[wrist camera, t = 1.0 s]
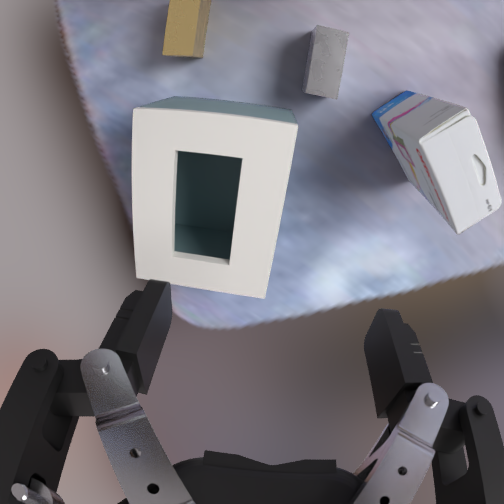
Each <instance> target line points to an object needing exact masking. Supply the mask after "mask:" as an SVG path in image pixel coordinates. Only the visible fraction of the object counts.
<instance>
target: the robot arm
mask: <svg viewBox="0 0 504 504" xmlns="http://www.w3.org/2000/svg"><path fill="white" fill-rule="evenodd" d="M171 319H172V303H171V287H170V282H167V281H160V280H154V279H150V280H149V281H148V283H147V285H146V287H145V289H144V291H138V290H135V291H134V292H132V293H131V294H130V295H129V296H128V297H126V298H125V300H124V302H123V304H122V305H121V308H120V310H119V311H118V313H117V315H116V318H114V320H113V322H112V324H111V326H110V328H109V330H108V332H107V334H106V336H105V338H104V340H103V342H102V343H101V345H100V347H99V349H96V350H93V351H91V352H89V353H88V354H86V355H85V356H84V358H83V359H79V360H58V358H57V356H56V355H55V354H54V353H53V352H52V351H50V350H47V349H39V350H36V351H33V352H32V353H30V354H29V355H28V356H27V357H26V359H25V360H24V362H23V364H22V366H21V368H20V370H19V371H18V373H17V375H16V377H15V379H14V381H13V383H12V385H11V387H10V389H9V391H8V394H7V396H6V398H5V400H4V402H3V404H2V407H1V408H0V504H65V503H64V501H63V499H62V498H61V497H60V495H58V494H57V493H56V492H57V488H58V484H59V481H60V477H61V473H62V470H63V466H64V463H65V460H66V456H67V453H68V450H69V446H70V443H71V440H72V437H73V434H74V431H75V428H76V425H77V422H78V419H79V416H95V418H96V426H97V430H98V432H99V435H100V438H101V440H102V443H103V445H104V448H105V450H106V453H107V455H108V458H109V460H110V463H111V465H112V467H113V470H114V472H115V474H116V476H117V479H118V481H119V483H120V485H121V487H122V489H123V491H124V494H125V496H126V498H125V499H124V500H122V501H121V502H119V503H118V504H410V503H411V501H412V499H413V497H414V495H415V494H416V492H417V490H418V488H419V486H420V484H421V482H422V480H423V478H424V476H425V474H426V472H427V470H428V468H429V466H430V464H431V462H432V469H433V477H434V485H435V495H436V504H504V446H503V442H502V439H501V435H500V431H499V428H498V424H497V421H496V417H495V414H494V411H493V408H492V406H491V404H490V403H489V401H488V400H487V399H485V398H484V397H481V396H477V395H476V396H472V397H471V398H469V400H468V401H467V402H466V403H464V402H459V401H456V400H452V399H449V398H448V396H447V394H446V392H445V391H444V390H443V389H442V388H441V387H440V386H438V385H436V384H433V382H432V379H431V376H430V373H429V370H428V367H427V364H426V361H425V358H424V355H423V354H422V350H421V347H420V345H419V342H418V339H417V336H416V333H415V332H414V331H413V330H412V329H411V327H410V326H409V325H408V324H405V323H403V321H402V318H401V315H400V313H399V311H398V310H391V309H379V310H378V311H377V313H376V315H375V317H374V319H373V322H372V324H371V326H370V328H369V330H368V332H367V334H366V337H365V342H364V351H365V356H366V361H367V366H368V370H369V375H370V380H371V385H372V391H373V396H374V401H375V407H376V413H377V418H388V422H389V423H388V424H387V426H386V427H385V429H384V430H383V432H382V433H381V435H380V437H379V438H378V440H377V441H376V443H375V445H374V446H373V448H372V449H371V451H370V452H369V454H368V455H367V457H366V458H365V460H364V461H363V462H362V464H361V465H360V466H359V467H358V468H357V469H356V470H355V472H354V473H353V474H352V473H350V472H348V471H346V470H343V469H341V468H337V467H336V460H301V461H295V462H290V463H285V464H279V465H268V464H264V463H261V462H258V461H255V460H252V459H249V458H246V457H243V456H240V455H236V454H228V453H220V452H213V451H207V450H206V451H205V452H204V457H202V458H193V459H188V460H185V461H181V462H179V463H176V464H174V465H172V464H171V462H170V460H169V459H168V457H167V455H166V453H165V452H164V450H163V448H162V446H161V444H160V442H159V440H158V438H157V437H156V435H155V432H154V430H153V428H152V426H151V424H150V422H149V420H148V418H147V416H146V414H145V412H144V410H143V408H142V407H141V406H140V404H139V402H138V400H137V398H136V397H137V394H138V393H142V394H147V392H148V389H149V386H150V383H151V380H152V377H153V374H154V371H155V368H156V365H157V363H158V359H159V357H160V354H161V351H162V348H163V345H164V342H165V340H166V336H167V334H168V331H169V328H170V324H171ZM464 445H466V450H467V455H468V461H469V468H468V470H467V465H466V460H465V454H464V449H463V446H464Z"/></svg>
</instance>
